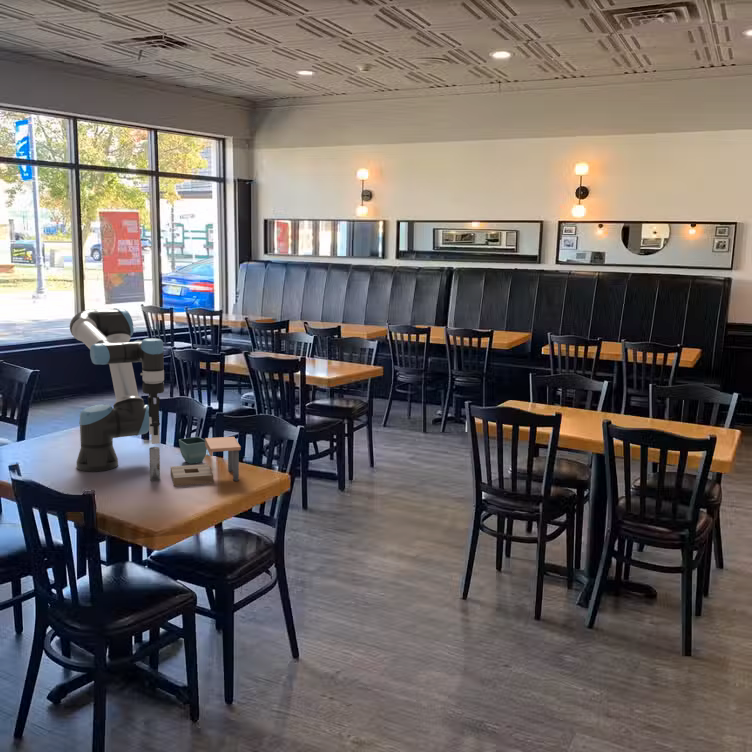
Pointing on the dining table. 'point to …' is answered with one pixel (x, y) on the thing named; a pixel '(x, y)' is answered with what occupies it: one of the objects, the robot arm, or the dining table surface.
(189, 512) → the dining table surface
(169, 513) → the dining table surface
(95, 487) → the dining table surface
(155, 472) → the peg
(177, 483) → the socket block
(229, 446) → the awning
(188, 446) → the flower pot
